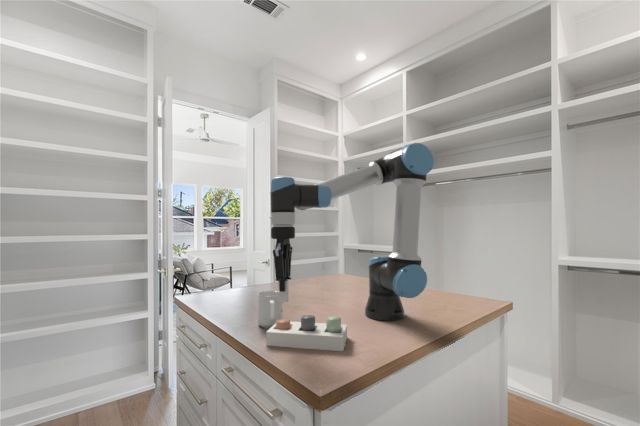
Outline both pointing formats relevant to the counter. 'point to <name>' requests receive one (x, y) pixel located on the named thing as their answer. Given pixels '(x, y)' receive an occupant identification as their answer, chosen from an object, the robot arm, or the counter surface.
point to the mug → (269, 308)
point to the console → (307, 337)
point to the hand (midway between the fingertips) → (283, 301)
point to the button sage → (333, 324)
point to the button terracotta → (283, 324)
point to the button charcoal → (308, 323)
